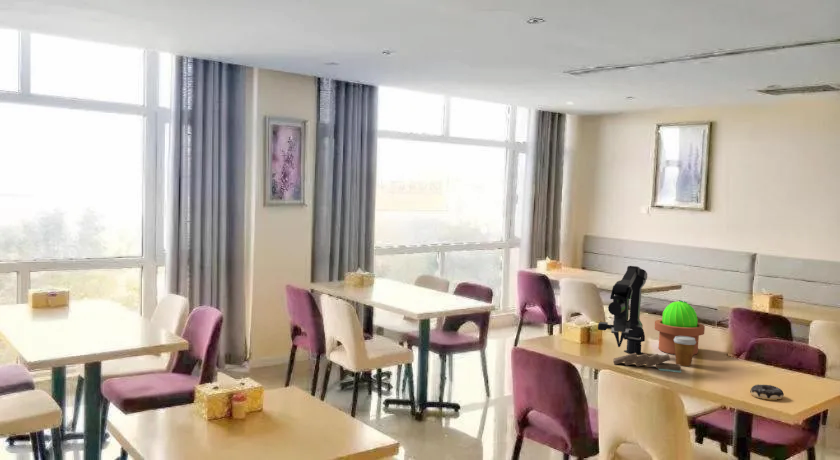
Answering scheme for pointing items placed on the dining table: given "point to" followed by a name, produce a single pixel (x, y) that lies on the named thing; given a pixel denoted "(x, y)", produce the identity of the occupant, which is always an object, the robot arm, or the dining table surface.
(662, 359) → the domino
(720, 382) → the dining table surface
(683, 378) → the dining table surface
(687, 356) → the disposable coffee cup
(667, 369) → the mat
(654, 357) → the domino
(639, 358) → the domino
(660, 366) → the domino
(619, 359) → the domino
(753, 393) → the donut
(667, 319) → the potted cactus
